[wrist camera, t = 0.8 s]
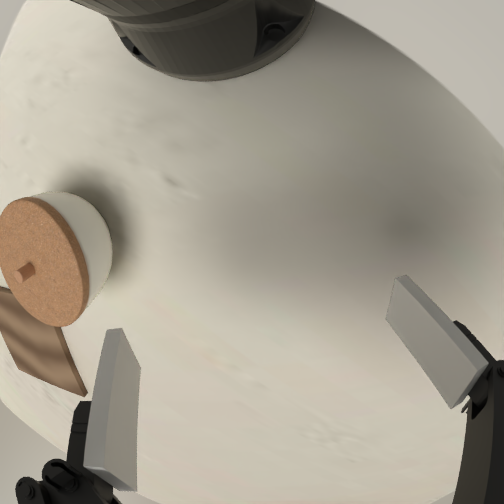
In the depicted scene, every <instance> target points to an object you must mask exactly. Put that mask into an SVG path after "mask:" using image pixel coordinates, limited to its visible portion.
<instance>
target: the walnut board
mask: <svg viewBox="0 0 504 504" xmlns="http://www.w3.org/2000/svg"><path fill="white" fill-rule="evenodd" d="M0 331H1V334H2V336H3V338H4V341H5V343H6V345H7V347H8V349H9V351H10V353H11V355H12V357H13V359H14V361H15V363H16V365H17V367H18V369H19V370H21V371H23V372H25V373H27V374H30V375H32V376H34V377H36V378H38V379H41V380H43V381H45V382H47V383H50V384H52V385H54V386H57V387H59V388H62V389H64V390H67V391H69V392H72V393H75V394H77V395H80V396H83V397H85V396H86V394H87V393H88V392H87V390H86V388H85V386H84V384H83V382H82V380H81V378H80V375H79V373H78V371H77V369H76V366H75V364H74V362H73V359H72V357H71V354H70V352H69V349H68V347H67V344H66V342H65V339H64V336H63V334H62V331H61V328H60V327H56V326H51V325H47V324H45V323H43V322H41V321H39V320H38V319H36V318H35V317H33V316H32V315H31V314H30V313H29V312H27V311H26V310H25V309H24V307H23V306H22V305H21V304H20V303H19V302H18V300H17V299H16V298H15V296H14V295H13V293H12V292H11V290H10V289H7V288H3V287H0Z"/></svg>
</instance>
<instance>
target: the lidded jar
mask: <svg viewBox="0 0 504 504" xmlns="http://www.w3.org/2000/svg"><path fill="white" fill-rule="evenodd" d="M111 264H112V241H111V237H110V232H109V229H108V226H107V224H106V222H105V220H104V219H103V217H102V216H101V215H100V213H99V212H98V211H97V210H96V208H95V207H94V206H92V205H91V204H90V203H89V202H87V201H86V200H84V199H83V198H81V197H79V196H77V195H74V194H71V193H67V192H46V193H41V194H37V195H34V196H31V197H24V198H21V199H18V200H15V201H13V202H11V203H10V204H8V205H7V207H6V208H5V209H4V211H3V212H2V214H1V216H0V267H1V270H2V273H3V276H4V278H5V280H6V282H7V284H8V286H9V288H10V290H11V292H12V293H13V295H14V296H15V298H16V299H17V300H18V302H19V303H20V304H21V305H22V306H23V307H24V309H25V310H26V311H27V312H29V313H30V314H31V315H32V316H33V317H35V318H36V319H38V320H39V321H41V322H43V323H45V324H47V325H51V326H56V327H63V326H67V325H70V324H72V323H73V322H74V321H76V320H77V319H78V318H79V317H80V315H81V314H82V313H83V312H84V310H85V309H86V308H87V307H88V306H89V305H90V304H91V303H92V301H93V300H94V299H95V298H96V296H97V295H98V294H99V292H100V291H101V289H102V288H103V286H104V284H105V282H106V280H107V278H108V275H109V272H110V269H111Z"/></svg>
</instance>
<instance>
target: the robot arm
mask: <svg viewBox="0 0 504 504" xmlns="http://www.w3.org/2000/svg"><path fill="white" fill-rule="evenodd" d="M71 1H73V2H75V3H78V4H80V5H83V6H85V7H87V8H90V9H92V10H94V11H96V12H99V13H101V14H103V15H105V16H107V17H108V19H109V21H110V22H111V24H112V26H113V27H114V29H115V31H116V32H117V34H118V36H119V37H120V39H121V41H122V42H123V44H124V45H125V47H126V48H127V49H128V51H129V52H130V53H131V54H132V55H133V56H134V57H136V58H137V59H138V60H139V61H141V62H142V63H143V64H145V65H147V66H149V67H151V68H153V69H155V70H157V71H159V72H162V73H164V74H166V75H169V76H172V77H175V78H179V79H184V80H191V81H216V80H223V79H229V78H234V77H237V76H241V75H244V74H247V73H250V72H252V71H255V70H257V69H259V68H261V67H264V66H265V65H267V64H269V63H271V62H272V61H274V60H276V59H277V58H279V57H280V56H281V55H283V54H284V53H285V52H286V51H288V50H289V49H290V48H291V47H292V46H293V45H294V44H295V43H296V42H297V41H298V39H299V38H300V37H301V35H302V34H303V33H304V31H305V30H306V28H307V26H308V24H309V22H310V19H311V17H312V13H313V9H314V4H315V0H71ZM386 320H387V322H388V323H389V324H390V326H391V327H392V328H393V330H394V331H395V332H396V333H397V335H398V336H399V337H400V339H401V340H402V341H403V343H404V344H405V345H406V347H407V348H408V349H409V351H410V352H411V354H412V355H413V356H414V358H415V359H416V360H417V362H418V363H419V364H420V366H421V367H422V369H423V370H424V371H425V373H426V374H427V376H428V377H429V378H430V380H431V381H432V383H433V384H434V386H435V387H436V388H437V390H438V391H439V393H440V394H441V396H442V397H443V399H444V400H445V401H446V403H447V404H448V406H449V407H450V409H452V408H453V407H455V406H457V405H458V404H460V403H462V402H463V400H464V399H465V398H466V396H467V395H469V397H470V399H469V401H468V402H467V403H466V404H465V406H464V407H463V408H462V411H461V413H463V412H464V411H465V410H466V408H467V407H468V410H467V412H466V413H467V423H466V433H465V441H464V448H463V455H462V461H461V467H460V472H459V477H458V482H457V487H456V491H455V495H454V499H453V503H452V504H504V360H498V361H496V360H495V359H494V358H493V357H492V355H491V354H490V353H489V352H488V351H487V350H486V349H485V347H484V346H483V345H482V344H481V343H480V342H479V341H478V340H476V337H475V336H474V335H473V334H471V332H470V331H469V330H468V329H467V327H466V326H465V325H463V324H461V323H460V322H458V321H454V322H452V321H451V320H450V319H449V317H448V316H447V315H446V314H445V313H444V312H443V311H442V310H441V309H440V308H439V307H438V306H437V305H436V304H435V303H434V302H433V301H432V300H431V299H430V298H429V297H428V296H427V295H426V294H425V293H424V292H423V291H422V290H421V289H420V288H419V287H418V286H417V285H416V284H415V283H414V282H413V281H412V280H411V279H410V278H409V277H408V276H407V275H405V276H401V277H397V278H395V281H394V286H393V290H392V295H391V299H390V303H389V307H388V311H387V315H386ZM140 372H141V367H140V365H139V363H138V361H137V359H136V357H135V355H134V353H133V351H132V349H131V346H130V344H129V342H128V340H127V338H126V336H125V334H124V331H123V329H122V328H118V329H109V330H107V331H106V335H105V339H104V343H103V348H102V352H101V356H100V361H99V366H98V370H97V375H96V380H95V386H94V391H93V397H92V401H80V402H79V404H78V406H77V407H76V409H75V411H74V415H73V420H72V423H73V424H72V426H71V433H70V438H69V445H68V452H67V461H64V460H61V459H52V460H50V461H48V462H47V463H46V464H45V465H44V468H43V470H42V479H43V481H36V480H34V479H33V478H30V477H23V478H21V479H20V480H19V481H18V482H17V484H16V488H15V490H16V497H17V500H18V504H122V503H121V502H120V501H119V500H118V499H117V498H116V497H115V496H114V495H113V487H114V488H116V489H117V490H119V491H134V492H137V421H138V401H139V385H140Z"/></svg>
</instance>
